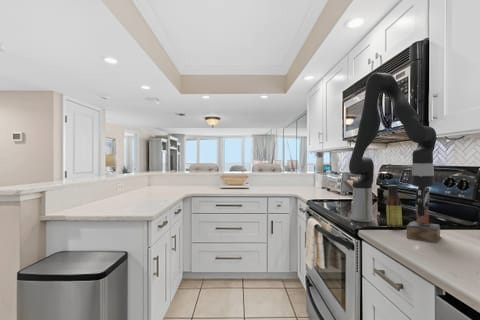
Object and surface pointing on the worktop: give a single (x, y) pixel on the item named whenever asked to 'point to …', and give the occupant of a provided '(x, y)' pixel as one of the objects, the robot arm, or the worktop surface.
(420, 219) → the lighter
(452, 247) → the worktop surface
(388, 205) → the sauce bottle
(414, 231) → the grey slab
